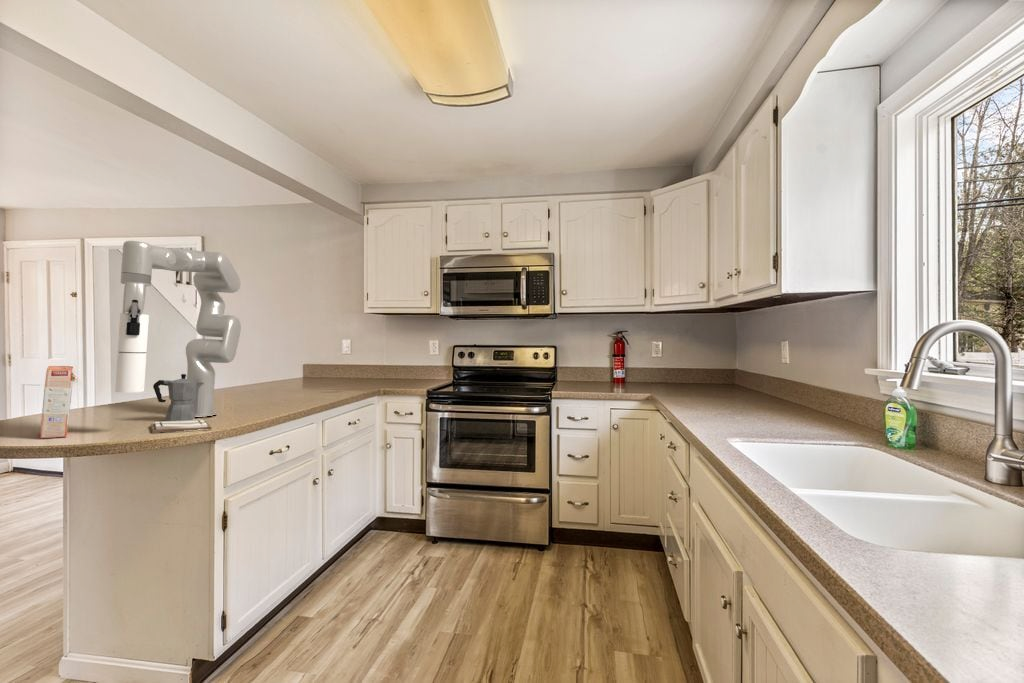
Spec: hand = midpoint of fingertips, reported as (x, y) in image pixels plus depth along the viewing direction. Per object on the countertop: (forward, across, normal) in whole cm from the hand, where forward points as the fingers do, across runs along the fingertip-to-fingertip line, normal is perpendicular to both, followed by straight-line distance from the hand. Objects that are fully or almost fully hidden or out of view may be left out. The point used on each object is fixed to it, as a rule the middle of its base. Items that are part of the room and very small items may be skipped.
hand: (132, 334), depth 144 cm
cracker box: (+32, -6, -17) cm, 37 cm away
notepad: (+32, -4, +15) cm, 36 cm away
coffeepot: (+33, -20, +15) cm, 41 cm away
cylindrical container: (+19, 0, 0) cm, 19 cm away
